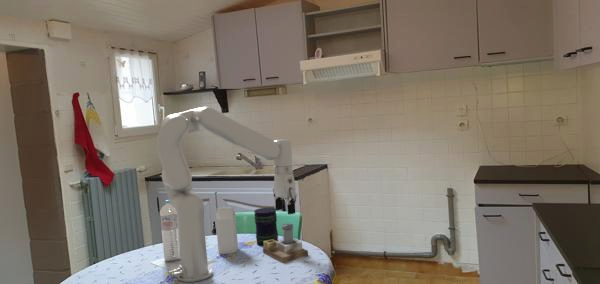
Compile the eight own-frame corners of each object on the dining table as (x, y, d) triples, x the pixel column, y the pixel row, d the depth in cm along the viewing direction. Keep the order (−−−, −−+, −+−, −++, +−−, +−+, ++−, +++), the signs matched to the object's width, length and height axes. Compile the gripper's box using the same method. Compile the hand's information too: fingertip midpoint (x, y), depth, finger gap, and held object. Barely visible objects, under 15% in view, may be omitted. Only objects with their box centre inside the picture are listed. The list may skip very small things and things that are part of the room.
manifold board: (282, 262, 170) (281, 250, 170) (263, 252, 184) (262, 241, 184) (308, 255, 177) (307, 243, 176) (287, 246, 190) (286, 235, 190)
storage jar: (253, 242, 200) (251, 209, 199) (273, 238, 204) (271, 206, 203) (261, 247, 191) (258, 214, 190) (281, 243, 195) (279, 210, 194)
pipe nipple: (287, 251, 177) (285, 227, 176) (281, 249, 181) (279, 225, 180) (296, 249, 179) (295, 225, 179) (291, 246, 183) (289, 223, 183)
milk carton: (235, 253, 186) (231, 209, 184) (218, 254, 186) (214, 210, 185) (238, 247, 193) (234, 205, 192) (222, 248, 193) (218, 206, 192)
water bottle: (160, 261, 182) (155, 202, 180) (172, 255, 188) (167, 198, 186) (173, 263, 179) (167, 202, 177) (184, 257, 185) (179, 198, 183)
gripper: (302, 170, 172) (304, 213, 173) (280, 167, 187) (282, 207, 188) (286, 173, 168) (288, 217, 169) (264, 169, 183) (267, 209, 184)
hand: (285, 211), depth 179 cm, fingers open, 9 cm apart
